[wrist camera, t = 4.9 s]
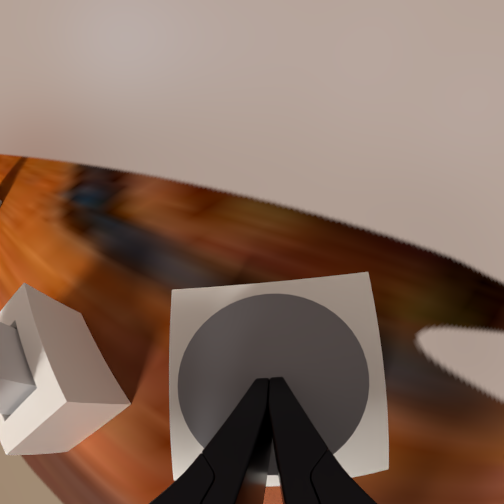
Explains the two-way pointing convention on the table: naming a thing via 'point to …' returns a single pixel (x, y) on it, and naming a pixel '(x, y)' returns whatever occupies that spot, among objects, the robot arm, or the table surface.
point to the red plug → (13, 371)
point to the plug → (275, 365)
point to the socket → (324, 293)
